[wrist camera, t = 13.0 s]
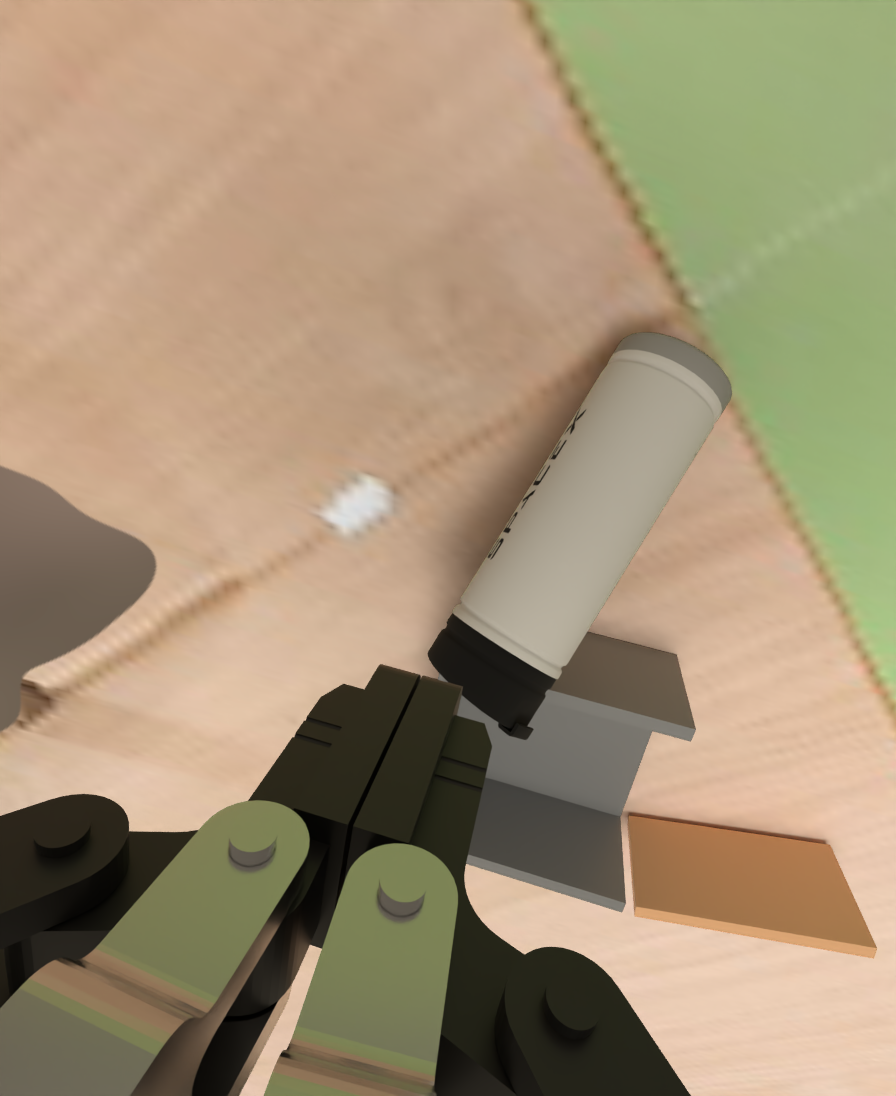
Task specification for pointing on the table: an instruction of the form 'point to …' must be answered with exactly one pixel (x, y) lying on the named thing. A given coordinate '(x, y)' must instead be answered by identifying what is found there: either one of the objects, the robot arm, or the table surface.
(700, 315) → the table surface
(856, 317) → the table surface
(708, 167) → the table surface
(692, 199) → the table surface
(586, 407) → the travel mug
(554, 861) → the storage box
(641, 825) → the side door
